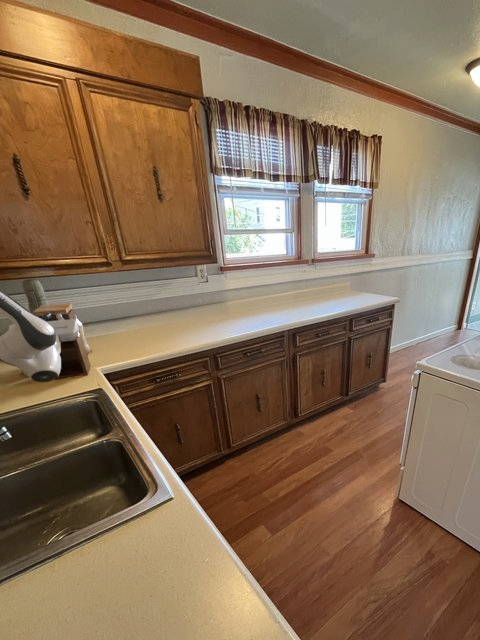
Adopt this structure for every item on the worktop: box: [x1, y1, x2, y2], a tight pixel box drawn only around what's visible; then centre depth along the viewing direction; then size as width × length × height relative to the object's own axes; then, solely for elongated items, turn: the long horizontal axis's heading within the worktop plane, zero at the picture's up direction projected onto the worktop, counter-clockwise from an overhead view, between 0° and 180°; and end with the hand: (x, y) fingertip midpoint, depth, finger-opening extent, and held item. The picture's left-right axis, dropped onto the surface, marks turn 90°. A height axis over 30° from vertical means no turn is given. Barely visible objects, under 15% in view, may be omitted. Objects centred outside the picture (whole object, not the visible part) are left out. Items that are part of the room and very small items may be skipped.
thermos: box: [22, 278, 50, 312], centre depth 165 cm, size 9×12×35 cm
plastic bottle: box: [74, 313, 91, 355], centre depth 161 cm, size 6×7×20 cm
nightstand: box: [38, 308, 92, 380], centre depth 138 cm, size 12×12×26 cm
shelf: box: [32, 302, 73, 320], centre depth 130 cm, size 25×11×2 cm, turn 25°
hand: (45, 316), depth 121 cm, fingers open, 7 cm apart
